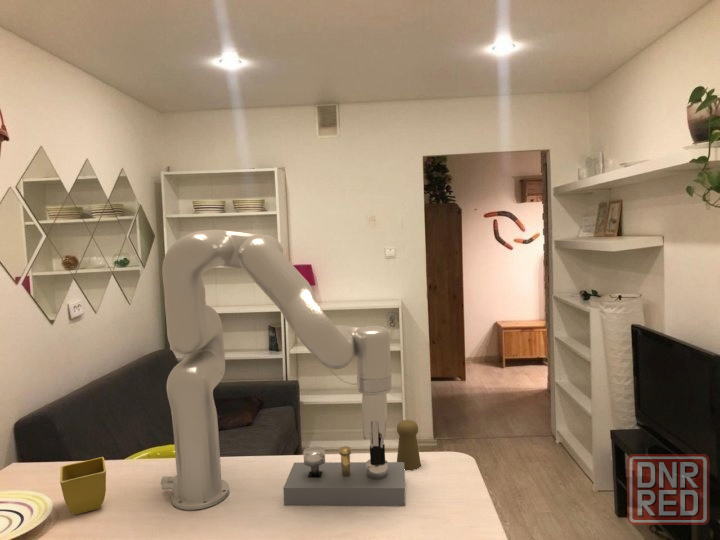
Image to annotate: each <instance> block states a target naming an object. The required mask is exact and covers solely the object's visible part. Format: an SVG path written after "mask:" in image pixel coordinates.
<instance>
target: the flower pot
mask: <svg viewBox="0 0 720 540" xmlns="http://www.w3.org/2000/svg"><path fill="white" fill-rule="evenodd" d="M59 483H60V488H61V491H62V496H63V501H64V502H65V505H66V507H67V508H68V510H69V512H71V513H72V514H73V515H75V516H76V515H80V514H83V513H87V512H91V511H96V510H99V509H100V508H101V507H102V506H103V502H104V500H105V497H106V493H107V492H106V491H107V469H106V461H105V458H104V456H100V457H97V458H92V459H87V460H84V461H79V462H74V463H70V464H69V463H68V464H66V465H63V466H61V467H60V476H59Z"/></svg>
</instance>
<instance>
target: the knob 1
mask: <svg viewBox="0 0 720 540" xmlns="http://www.w3.org/2000/svg"><path fill="white" fill-rule="evenodd" d="M303 462H304V464H305V465H306V466H310V467H311V478H319V466H320V465H323V464H324V463H325V462H326V450H325V448H324V447H321V446H310V447H307V448H304V450H303Z"/></svg>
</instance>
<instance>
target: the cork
mask: <svg viewBox="0 0 720 540" xmlns="http://www.w3.org/2000/svg"><path fill="white" fill-rule="evenodd" d="M396 433H397V434H398V435H399V436H398V446H397V456H396V462H404V469H405V471H407V470H411V471H414V470H413V469H416V470H418V469H420V468H421V467H422V463H421V459H420V458H421V457H420V456H421V455H420V452H419V445H418V444H419V443H418V439H417V435H418V433H419V427H418V423H417V422H416V421H414V420H411V419H404V420H401V421H399V422H398V424H397V426H396ZM419 467H420V468H419ZM417 468H418V469H417Z"/></svg>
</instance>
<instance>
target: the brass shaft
mask: <svg viewBox="0 0 720 540" xmlns="http://www.w3.org/2000/svg"><path fill="white" fill-rule="evenodd" d="M338 450H339V451H338V452H339V455H340V462H341V469H342V476H344V477H348V476H350V475H351V471H350V462H351V454H352V448H351V446H345V445H344V446H341V447H340V448H339V449H338Z"/></svg>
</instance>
